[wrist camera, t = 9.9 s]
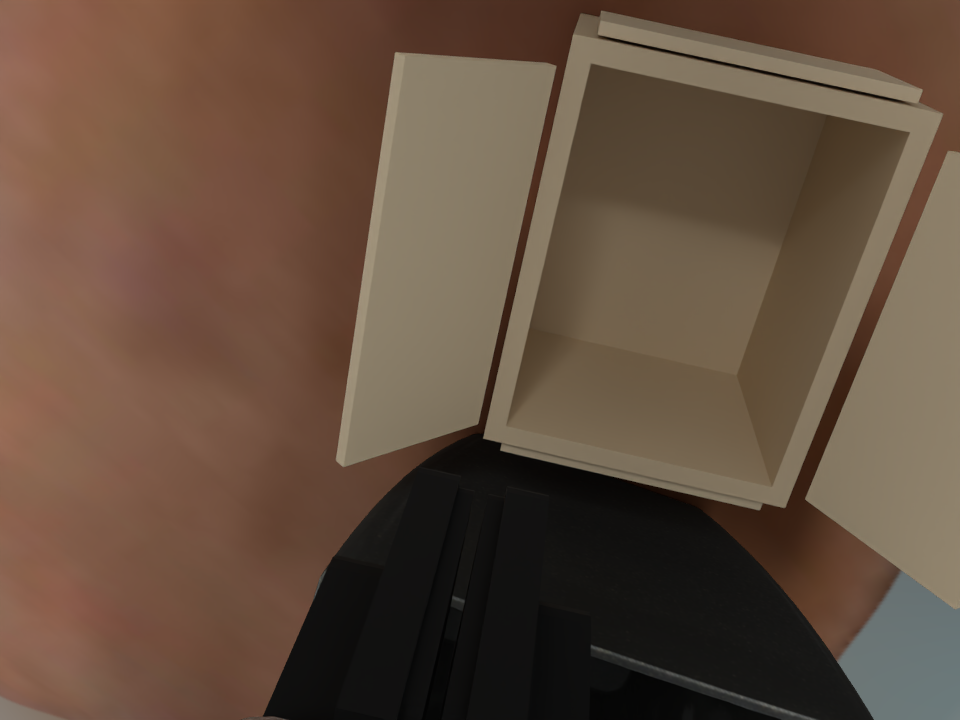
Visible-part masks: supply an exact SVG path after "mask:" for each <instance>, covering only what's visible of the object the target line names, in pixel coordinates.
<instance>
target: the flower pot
mask: <svg viewBox="0 0 960 720" xmlns="http://www.w3.org/2000/svg"><path fill="white" fill-rule="evenodd" d="M483 437H484V434H473V435H471V436H469V437H466V438H464V439H461V440H458V441H457V442H455V443H453V444H451V445H449V446H447V447H446V448H444V449H442V450H440V451H439V452H437V453H436V454H434V455H433V456H431V457H430V458H428V459H427V460H425V461H424V462H423V463H421V464H420V465H419V466H417V467H416V468H415V469H413V470H412V471H411V472H410V473H409V474H407V475H406V476H405V477H404V478H403V479H402V480H401V481H400V482H399V483H398V484H397V485H395V486H394V487H393V488H392V489H391V490H390V491H389V492H388V493H387V494H386V495H385V496H384V497H383V498H382V499H381V500H380V501H379V502H378V503H377V504H376V506H375V507H374V508H373V509H372V510H371V511H370V512H369V514H368V515H367V516H366V517H365V518H364V519H363V521H362V522H361V523H360V524H359V525H358V527H357V528H356V529H355V530H354V531H353V533H352V534H351V535H350V536H349V538H348V539H347V540H346V542H345V543H344V544H343V546H342V547H341V548H340V550H339V551H338V552H337V554H336V555H339V556H343V557H348V558H352V559H357V560H361V561H366V562H370V563H374V564H379V565H383V566H385V563H386V561H387V558H388V555H389V552H390V549H391V546H392V543H393V540H394V537H395V535H396V532H397V529H398V526H399V523H400V520H401V517H402V514H403V512H404V509H405V506H406V503H407V500H408V497H409V494H410V491H411V489H412V486H413V483H414V480H415V477H416V474H417V471H418V469H419V467H424V468H428V469H433V470H437V471H442V472H446V473H451V474H455V475H460V476H461V480H460V485H459V487H461V488H465V489H470V490H474V491H475V493H474V498H473V503H472V508H471V512H470V517H469V522H468V526H467V531H466V536H465V541H464V545H463V550H462V555H461V560H460V564H459V569H458V574H457V578H456V583H455V588H454V593H453V597H452V602H451V607H450V611H449V616H448V621H447V626H446V630H445V635H444V640H443V645H442V649H441V654H440V658H439V663H438V668H437V672H436V677H435V681H434V685H433V690H432V694H431V699H430V703H429V707H428V712H427V716H426V720H439V718H440V714H441V709H442V704H443V699H444V695H445V690H446V685H447V680H448V676H449V671H450V666H451V662H452V657H453V652H454V648H455V643H456V639H457V634H458V630H459V625H460V621H461V616H462V612H463V607H464V602H465V598H466V593H467V589H468V584H469V580H470V575H471V571H472V566H473V562H474V557H475V552H476V548H477V543H478V539H479V534H480V530H481V525H482V521H483V516H484V511H485V507H486V502H487V498H488V494H492V495H497V496H501V497H505V493H506V489H507V486H509V487H514V488H518V489H523V490H527V491H532V492H536V493H541V494H545V495H549V505H548V515H547V526H546V536H545V546H544V556H543V566H542V576H541V586H540V596H539V601H543V602H547V603H552V604H556V605H561V606H565V607H570V608H574V609H578V610H583V611H587V612H590V615H591V661H590V711H589V720H874V719H873V717H872V716H871V714H870V712H869V711H868V709H867V708H866V706H865V704H864V703H863V701H862V699H861V698H860V696H859V695H858V693H857V691H856V690H855V688H854V687H853V685H852V684H851V682H850V681H849V679H848V678H847V676H846V675H845V673H844V672H843V670H842V669H841V667H840V665H839V664H838V663H837V661H836V660H835V658H834V657H833V655H832V654H831V652H830V651H829V649H828V648H827V646H826V645H825V644H824V642H823V641H822V639H821V638H820V637H819V635H818V634H817V632H816V631H815V630H814V628H813V627H812V626H811V624H810V623H809V622H808V620H807V619H806V618H805V616H804V615H803V614H802V613H801V611H800V610H799V609H798V608H797V606H796V605H795V604H794V603H793V601H792V600H791V599H790V598H789V597H788V595H787V594H786V593H785V592H784V591H783V590H782V588H781V587H780V586H779V585H778V584H777V583H776V582H775V580H774V579H773V578H772V577H771V576H770V575H769V573H768V572H767V571H766V570H765V569H764V568H763V567H762V566H761V565H760V564H759V563H758V562H757V561H756V560H755V559H754V558H753V557H752V556H751V555H750V554H749V553H748V552H747V551H746V550H745V549H744V548H743V547H742V546H741V545H740V544H739V543H738V542H737V541H736V540H735V539H734V538H733V537H732V536H731V535H730V534H729V533H728V532H727V531H726V530H724V529H723V528H722V527H721V526H720V525H719V524H718V523H717V522H715V521H714V520H713V519H712V518H711V517H709V516H708V515H707V514H706V513H704V512H703V511H702V510H700V509H699V508H697V507H695V506H692V505H690V504H687V503H684V502H681V501H678V500H675V499H672V498H669V497H666V496H663V495H660V494H657V493H654V492H651V491H649V490H646V489H643V488H640V487H637V486H634V485H631V484H628V483H625V482H623V481H620V480H617V479H614V478H611V477H608V476H605V475H603V474H599V473H595V472H591V471H586V470H582V469H578V468H573V467H569V466H565V465H560V464H556V463H552V462H547V461H543V460H539V459H534V458H530V457H526V456H522V455H517V454H513V453H509V452H504V451H500V449H501V444H502V443H500V442H496V441H492V440H487V439H483ZM328 566H329V565H328ZM328 566H327V568H328ZM327 568H326V569H325V571H324V572H323V574H322V575H321V577H320V579H319V582H318V586H317V589H316V593H317V591H318V589H319V587H320V584H321V582H322V580H323V577H324V575H325V573H326V570H327ZM316 593H315V596H316ZM315 596H314V598H315ZM313 600H314V599H313Z"/></svg>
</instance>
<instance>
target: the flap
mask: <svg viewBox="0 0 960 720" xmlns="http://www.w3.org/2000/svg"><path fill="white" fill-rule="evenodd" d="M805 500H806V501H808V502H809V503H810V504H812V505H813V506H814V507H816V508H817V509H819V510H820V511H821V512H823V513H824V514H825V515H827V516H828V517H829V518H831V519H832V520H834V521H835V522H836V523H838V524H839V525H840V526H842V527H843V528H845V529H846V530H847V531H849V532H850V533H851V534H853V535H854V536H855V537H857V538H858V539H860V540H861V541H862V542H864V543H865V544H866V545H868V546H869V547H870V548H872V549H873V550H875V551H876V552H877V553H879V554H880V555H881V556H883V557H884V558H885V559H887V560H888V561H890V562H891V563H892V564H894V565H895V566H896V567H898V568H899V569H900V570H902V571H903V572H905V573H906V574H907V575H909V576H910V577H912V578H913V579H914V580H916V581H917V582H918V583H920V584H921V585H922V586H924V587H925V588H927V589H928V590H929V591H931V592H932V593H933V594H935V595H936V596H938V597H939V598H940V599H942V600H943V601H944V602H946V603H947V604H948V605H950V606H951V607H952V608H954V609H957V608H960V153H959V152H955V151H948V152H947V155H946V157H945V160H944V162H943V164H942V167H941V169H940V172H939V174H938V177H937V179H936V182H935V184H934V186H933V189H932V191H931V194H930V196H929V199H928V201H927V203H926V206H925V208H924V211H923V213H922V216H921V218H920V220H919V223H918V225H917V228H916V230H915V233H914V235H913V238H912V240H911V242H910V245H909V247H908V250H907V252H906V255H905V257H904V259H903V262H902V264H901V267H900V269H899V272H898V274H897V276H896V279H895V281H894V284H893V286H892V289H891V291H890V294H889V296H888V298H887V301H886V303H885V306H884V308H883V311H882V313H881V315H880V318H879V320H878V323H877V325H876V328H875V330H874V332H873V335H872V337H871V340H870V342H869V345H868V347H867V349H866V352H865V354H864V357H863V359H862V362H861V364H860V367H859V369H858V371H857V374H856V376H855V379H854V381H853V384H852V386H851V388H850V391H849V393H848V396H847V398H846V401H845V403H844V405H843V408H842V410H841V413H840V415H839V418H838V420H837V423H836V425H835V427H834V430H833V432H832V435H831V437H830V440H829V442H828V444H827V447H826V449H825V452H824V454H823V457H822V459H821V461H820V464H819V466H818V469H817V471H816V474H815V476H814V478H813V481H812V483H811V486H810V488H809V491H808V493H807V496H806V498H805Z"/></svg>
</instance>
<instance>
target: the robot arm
mask: <svg viewBox="0 0 960 720" xmlns="http://www.w3.org/2000/svg"><path fill="white" fill-rule="evenodd" d="M460 480H461V476H460V475H455V474H451V473H446V472H442V471H437V470H433V469H428V468H424V467H419V469H418V471H417V474H416V477H415V480H414V483H413V486H412V489H411V491H410V494H409V497H408V500H407V503H406V506H405V509H404V512H403V514H402V517H401V520H400V523H399V526H398V529H397V532H396V535H395V537H394V540H393V543H392V546H391V549H390V552H389V555H388V558H387V561H386V563H385V566H383V565H379V564H374V563H370V562H366V561H361V560H357V559H352V558H348V557H343V556H339V555H335V556H334V557H333V558H332V560H331V562H330V564H329V566H328V568H327V570H326V573H325V575H324V577H323V580H322V582H321V584H320V587H319V589H318V591H317V593H316V596H315V598H314V600H313V603H312V605H311V607H310V610H309V612H308V614H307V616H306V619H305V621H304V623H303V626H302V628H301V630H300V632H299V635H298V637H297V639H296V642H295V644H294V646H293V649H292V651H291V653H290V655H289V658H288V660H287V662H286V665H285V667H284V669H283V672H282V674H281V676H280V678H279V681H278V683H277V685H276V688H275V690H274V692H273V694H272V697H271V699H270V701H269V704H268V706H267V708H266V711H265V713H264V715H263V717H248V718H245V719H241V720H426V716H427V712H428V707H429V703H430V699H431V694H432V690H433V685H434V681H435V677H436V672H437V668H438V663H439V658H440V654H441V649H442V645H443V640H444V635H445V630H446V626H447V621H448V616H449V611H450V607H451V602H452V597H453V593H454V588H455V583H456V578H457V574H458V569H459V564H460V560H461V555H462V550H463V545H464V541H465V536H466V531H467V526H468V522H469V517H470V512H471V508H472V503H473V498H474V493H475V491H474V490H470V489H465V488H461V487H459V485H460ZM548 505H549V495H545V494H541V493H536V492H532V491H527V490H523V489H518V488H514V487H509V486H507V489H506V493H505V497H501V496H497V495H492V494H488V498H487V502H486V507H485V511H484V516H483V521H482V525H481V530H480V534H479V539H478V543H477V548H476V552H475V557H474V562H473V566H472V571H471V575H470V580H469V584H468V589H467V593H466V598H465V602H464V607H463V612H462V616H461V621H460V625H459V630H458V634H457V639H456V643H455V648H454V652H453V657H452V662H451V666H450V671H449V676H448V680H447V685H446V690H445V695H444V699H443V704H442V709H441V714H440V718H439V720H589V711H590V661H591V615H590V612H587V611H583V610H578V609H574V608H570V607H565V606H561V605H556V604H552V603H547V602H543V601H539V596H540V586H541V576H542V566H543V556H544V546H545V536H546V526H547V515H548Z"/></svg>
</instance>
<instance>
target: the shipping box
mask: <svg viewBox="0 0 960 720" xmlns="http://www.w3.org/2000/svg"><path fill="white" fill-rule="evenodd" d="M922 91H923V90H922V89H920V88H918V87H915V86H913V85H911V84H908V83H906V82H904V81H902V80H899V79H897V78H895V77H892V76H890V75H888V74H886V73H883V72H881V71H879V70H876V69H871V68H867V67H862V66H857V65H853V64H848V63H843V62H839V61H834V60H829V59H825V58H820V57H816V56H811V55H806V54H802V53H797V52H792V51H788V50H783V49H778V48H774V47H769V46H764V45H760V44H755V43H750V42H746V41H741V40H736V39H732V38H727V37H722V36H718V35H713V34H708V33H704V32H699V31H694V30H690V29H685V28H680V27H676V26H671V25H666V24H662V23H657V22H652V21H648V20H643V19H638V18H634V17H629V16H624V15H620V14H615V13H611V12H606V11H601V13H600V17H597V16H593V15H588V14H584V13H581V14H580V17H579V20H578V22H577V25H576V28H575V31H574V34H573V38H572V42H571V47H570V51H569V56H568V60H567V65H566V69H565V74H564V78H563V83H562V87H561V92H560V96H559V101H558V105H557V110H556V114H555V119H554V123H553V128H552V132H551V137H550V141H549V145H548V150H547V154H546V159H545V163H544V168H543V172H542V177H541V181H540V186H539V190H538V195H537V199H536V204H535V208H534V213H533V217H532V222H531V226H530V231H529V235H528V240H527V244H526V249H525V253H524V257H523V262H522V266H521V271H520V275H519V280H518V284H517V289H516V293H515V298H514V302H513V307H512V311H511V316H510V320H509V325H508V329H507V334H506V338H505V343H504V347H503V352H502V356H501V361H500V365H499V369H498V374H497V378H496V383H495V387H494V392H493V396H492V401H491V405H490V410H489V414H488V419H487V423H486V428H485V432H484V437H483V439H487V440H492V441H496V442H500V443H502V444H501V449H500V451H504V452H509V453H513V454H517V455H522V456H526V457H530V458H534V459H539V460H543V461H547V462H552V463H556V464H560V465H565V466H569V467H573V468H578V469H582V470H586V471H591V472H595V473H599V474H604V475H608V476H612V477H617V478H621V479H625V480H630V481H634V482H638V483H643V484H647V485H651V486H656V487H660V488H664V489H669V490H673V491H677V492H682V493H686V494H690V495H695V496H699V497H703V498H708V499H712V500H716V501H721V502H725V503H729V504H734V505H738V506H742V507H747V508H751V509H755V510H760V509H761V506H762V504H763V503H765V504H769V505H773V506H778V507H782V508H785V507H786V505H787V502H788V500H789V497H790V495H791V492H792V490H793V487H794V485H795V482H796V480H797V477H798V475H799V472H800V470H801V467H802V465H803V462H804V460H805V457H806V455H807V452H808V450H809V447H810V445H811V442H812V440H813V437H814V435H815V432H816V430H817V427H818V425H819V422H820V420H821V417H822V415H823V412H824V410H825V407H826V405H827V402H828V400H829V397H830V395H831V392H832V390H833V387H834V385H835V383H836V380H837V378H838V375H839V373H840V370H841V368H842V365H843V363H844V360H845V358H846V355H847V353H848V350H849V348H850V345H851V343H852V340H853V338H854V335H855V333H856V330H857V328H858V325H859V323H860V320H861V318H862V315H863V313H864V310H865V308H866V305H867V303H868V300H869V298H870V295H871V293H872V290H873V288H874V285H875V283H876V280H877V278H878V275H879V273H880V270H881V268H882V265H883V263H884V261H885V258H886V256H887V253H888V251H889V248H890V246H891V243H892V241H893V238H894V236H895V233H896V231H897V228H898V226H899V223H900V221H901V218H902V216H903V213H904V211H905V208H906V206H907V203H908V201H909V198H910V196H911V193H912V191H913V188H914V186H915V183H916V181H917V178H918V176H919V173H920V171H921V168H922V166H923V163H924V161H925V158H926V156H927V153H928V151H929V148H930V146H931V144H932V141H933V139H934V136H935V134H936V131H937V129H938V126H939V124H940V121H941V119H942V116H943V113H941V112H939V111H936V110H934V109H932V108H930V107H928V106H926V105H924V104H922V103H920V102H919V99H920V97H921V94H922Z"/></svg>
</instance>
